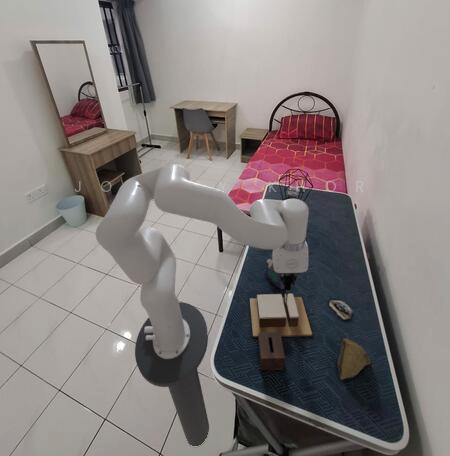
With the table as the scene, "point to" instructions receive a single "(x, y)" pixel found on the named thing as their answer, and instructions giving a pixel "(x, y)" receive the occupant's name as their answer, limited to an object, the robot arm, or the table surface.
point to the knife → (287, 285)
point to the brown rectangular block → (291, 311)
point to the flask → (273, 276)
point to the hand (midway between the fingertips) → (287, 280)
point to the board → (286, 331)
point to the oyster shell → (341, 309)
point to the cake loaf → (271, 310)
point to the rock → (351, 359)
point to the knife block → (271, 351)
